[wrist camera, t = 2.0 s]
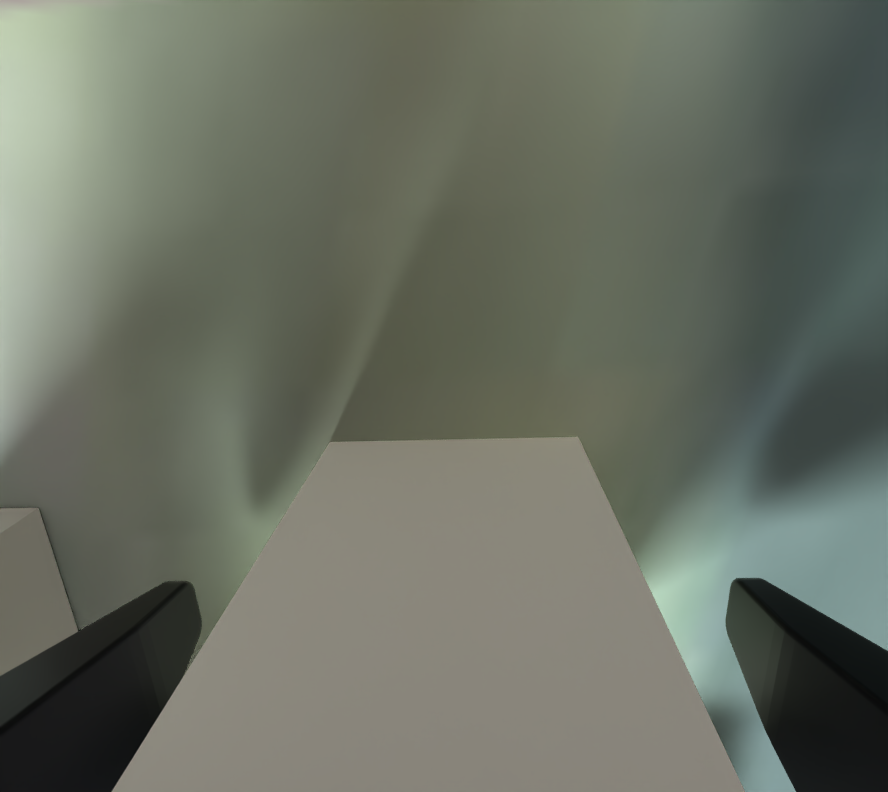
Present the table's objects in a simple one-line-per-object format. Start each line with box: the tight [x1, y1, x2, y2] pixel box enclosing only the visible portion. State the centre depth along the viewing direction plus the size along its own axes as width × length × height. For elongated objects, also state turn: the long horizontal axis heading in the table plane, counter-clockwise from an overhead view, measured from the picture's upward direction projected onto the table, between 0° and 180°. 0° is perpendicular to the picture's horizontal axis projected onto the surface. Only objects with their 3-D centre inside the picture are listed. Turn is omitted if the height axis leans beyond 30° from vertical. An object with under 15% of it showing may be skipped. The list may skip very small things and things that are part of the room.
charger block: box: [112, 437, 745, 792], centre depth 7 cm, size 4×4×7 cm
